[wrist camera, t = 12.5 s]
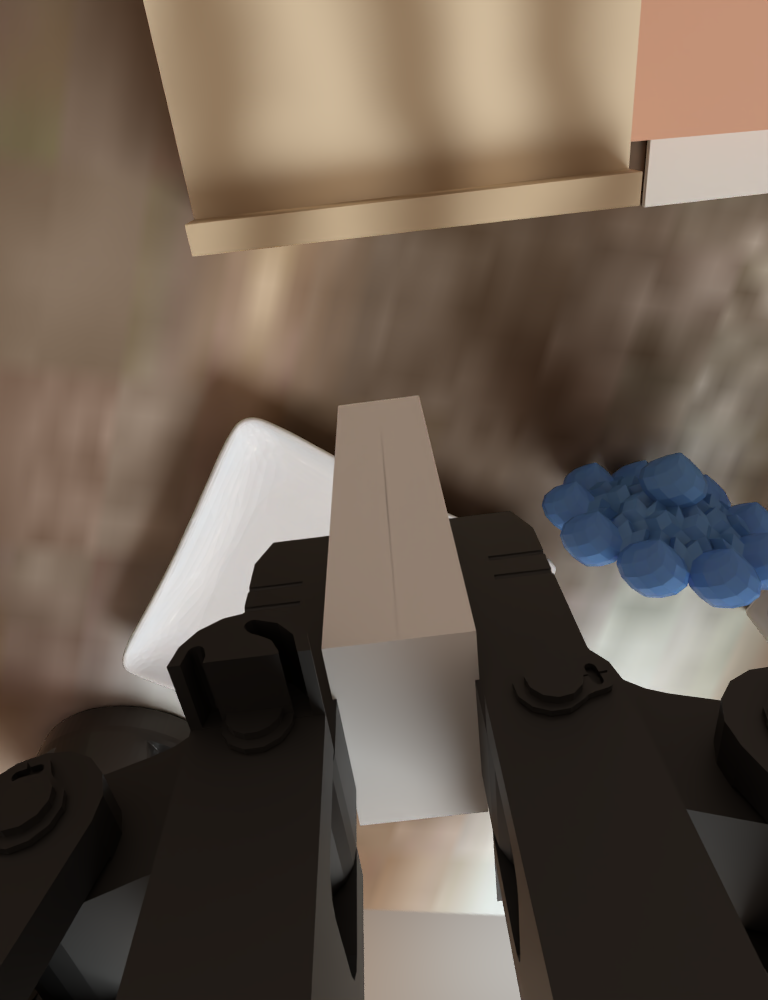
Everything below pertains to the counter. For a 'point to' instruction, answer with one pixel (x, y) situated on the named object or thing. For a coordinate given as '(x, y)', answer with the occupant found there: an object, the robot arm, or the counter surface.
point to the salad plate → (234, 537)
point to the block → (701, 68)
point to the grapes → (664, 530)
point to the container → (760, 613)
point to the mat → (705, 167)
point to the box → (394, 113)
